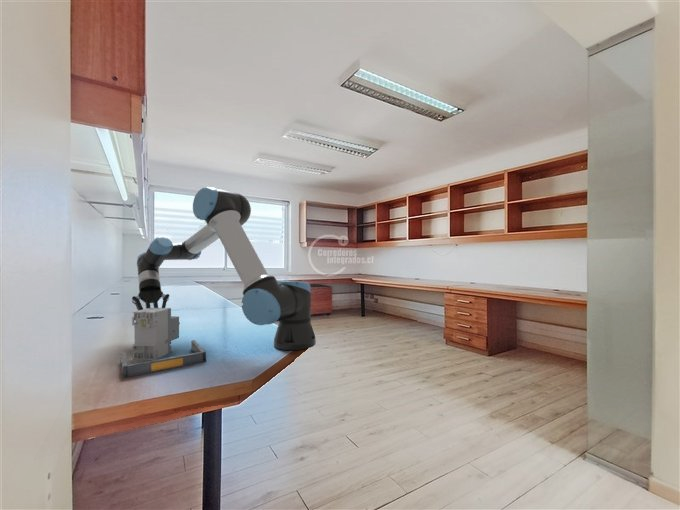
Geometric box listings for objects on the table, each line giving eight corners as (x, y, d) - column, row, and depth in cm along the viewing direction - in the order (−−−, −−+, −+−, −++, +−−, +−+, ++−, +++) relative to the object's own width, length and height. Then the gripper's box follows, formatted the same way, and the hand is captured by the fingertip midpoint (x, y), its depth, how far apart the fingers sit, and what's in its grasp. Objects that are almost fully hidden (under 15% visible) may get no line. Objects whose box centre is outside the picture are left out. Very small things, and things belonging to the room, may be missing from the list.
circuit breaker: (182, 346, 112) (181, 305, 112) (154, 360, 97) (154, 312, 97) (162, 346, 112) (162, 304, 112) (132, 359, 98) (132, 312, 98)
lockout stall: (206, 361, 95) (206, 352, 95) (123, 378, 83) (122, 367, 83) (194, 348, 109) (194, 340, 109) (121, 361, 96) (121, 351, 96)
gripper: (166, 288, 134) (173, 335, 120) (130, 290, 126) (133, 340, 113) (168, 277, 130) (175, 323, 116) (130, 278, 122) (133, 329, 108)
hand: (154, 332), depth 114 cm, fingers closed
